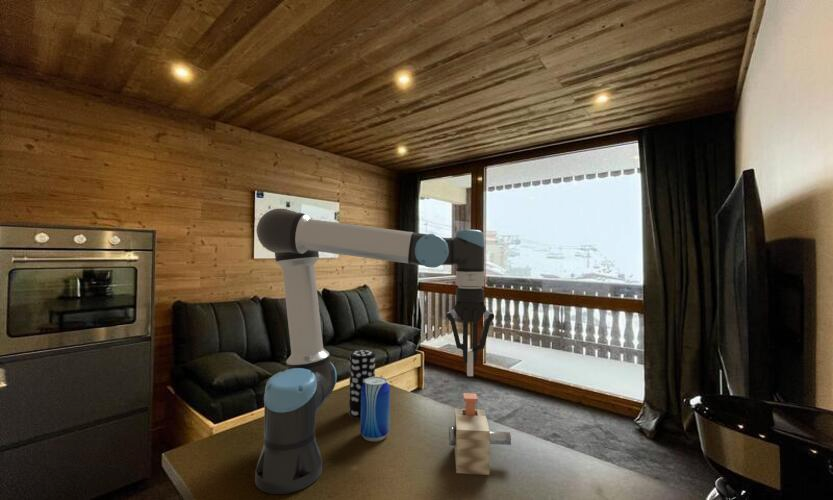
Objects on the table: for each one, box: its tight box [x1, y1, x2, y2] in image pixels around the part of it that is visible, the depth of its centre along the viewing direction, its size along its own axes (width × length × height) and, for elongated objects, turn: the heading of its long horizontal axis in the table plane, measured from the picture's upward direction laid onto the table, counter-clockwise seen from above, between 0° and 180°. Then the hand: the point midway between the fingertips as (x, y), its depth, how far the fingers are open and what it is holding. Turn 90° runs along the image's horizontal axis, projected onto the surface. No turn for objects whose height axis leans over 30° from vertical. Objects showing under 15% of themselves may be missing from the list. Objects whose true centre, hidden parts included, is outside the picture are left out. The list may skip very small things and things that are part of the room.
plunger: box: [462, 392, 479, 416], centre depth 97 cm, size 4×4×8 cm
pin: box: [448, 425, 512, 447], centre depth 93 cm, size 16×5×5 cm, turn 86°
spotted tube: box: [348, 349, 376, 420], centre depth 119 cm, size 8×8×20 cm
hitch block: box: [453, 408, 491, 476], centre depth 93 cm, size 8×12×10 cm, turn 176°
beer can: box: [359, 376, 391, 442], centre depth 105 cm, size 8×8×16 cm
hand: (470, 374), depth 97 cm, fingers closed
